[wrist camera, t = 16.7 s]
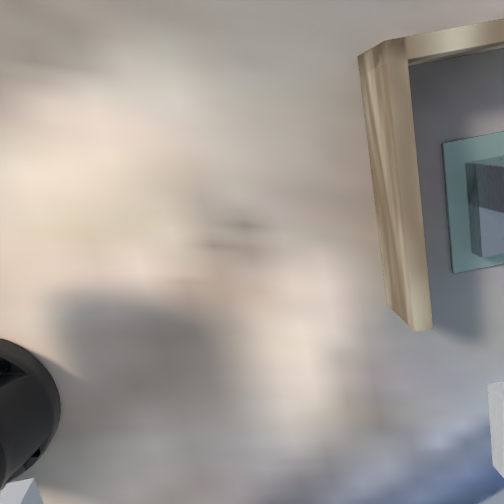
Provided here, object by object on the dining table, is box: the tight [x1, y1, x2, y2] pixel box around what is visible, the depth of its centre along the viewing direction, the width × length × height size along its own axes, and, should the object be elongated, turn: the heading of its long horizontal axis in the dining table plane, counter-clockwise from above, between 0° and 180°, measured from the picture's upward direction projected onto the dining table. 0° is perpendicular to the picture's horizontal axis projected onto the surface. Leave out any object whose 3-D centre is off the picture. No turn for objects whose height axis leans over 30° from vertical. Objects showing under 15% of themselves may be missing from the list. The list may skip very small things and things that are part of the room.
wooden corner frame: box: [358, 19, 504, 332], centre depth 42 cm, size 18×24×7 cm
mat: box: [442, 131, 504, 273], centre depth 46 cm, size 10×13×1 cm
